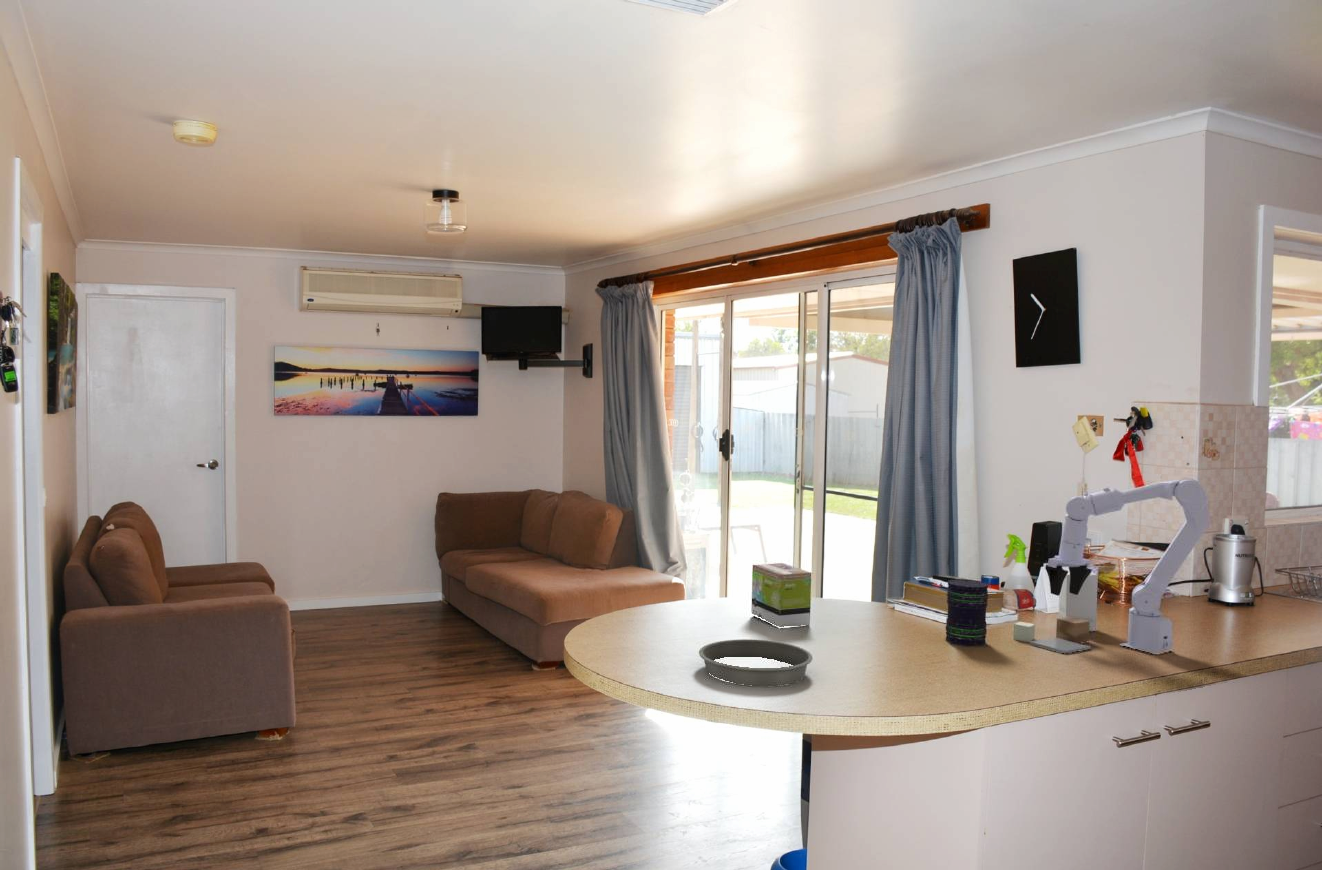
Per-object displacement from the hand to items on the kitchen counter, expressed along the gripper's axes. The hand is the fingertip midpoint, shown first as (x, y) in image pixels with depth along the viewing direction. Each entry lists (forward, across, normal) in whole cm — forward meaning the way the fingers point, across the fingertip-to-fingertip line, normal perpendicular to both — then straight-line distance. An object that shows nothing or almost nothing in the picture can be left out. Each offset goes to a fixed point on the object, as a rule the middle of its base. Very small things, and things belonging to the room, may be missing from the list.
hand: (1064, 594), depth 245 cm
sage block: (+12, +10, -2) cm, 16 cm away
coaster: (+11, +8, +7) cm, 16 cm away
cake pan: (+18, +91, -7) cm, 93 cm away
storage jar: (+14, +26, -7) cm, 30 cm away
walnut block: (+11, -1, +4) cm, 12 cm away
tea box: (+19, +56, -43) cm, 74 cm away
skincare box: (+11, -14, -4) cm, 18 cm away
